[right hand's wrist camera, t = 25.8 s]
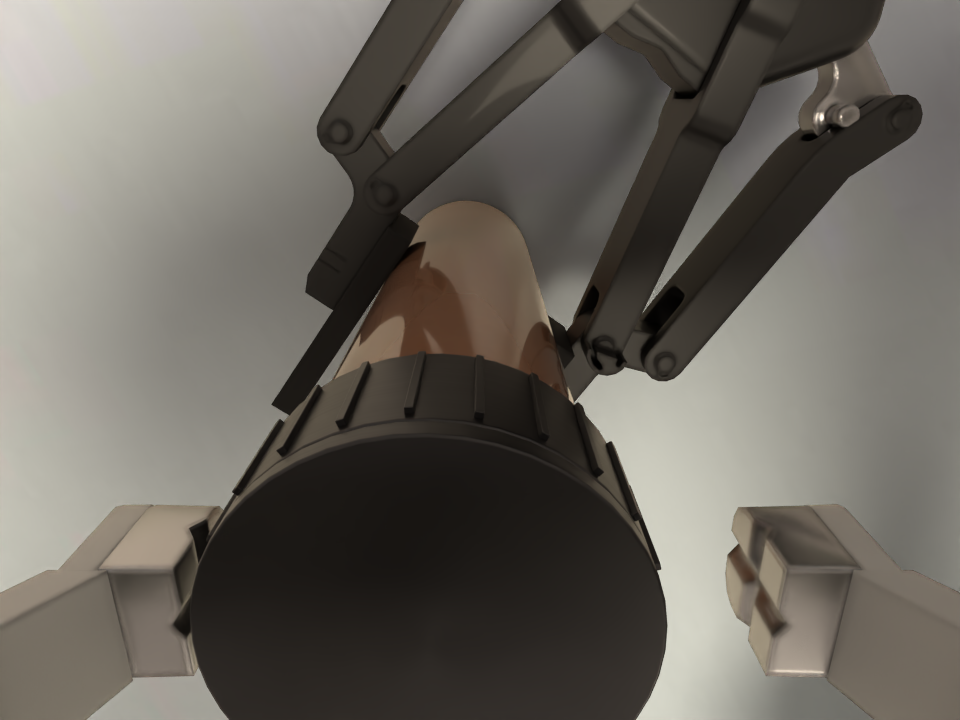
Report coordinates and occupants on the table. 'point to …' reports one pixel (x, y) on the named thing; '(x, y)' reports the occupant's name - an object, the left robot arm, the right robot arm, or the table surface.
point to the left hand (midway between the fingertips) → (370, 437)
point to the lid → (431, 558)
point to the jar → (462, 298)
